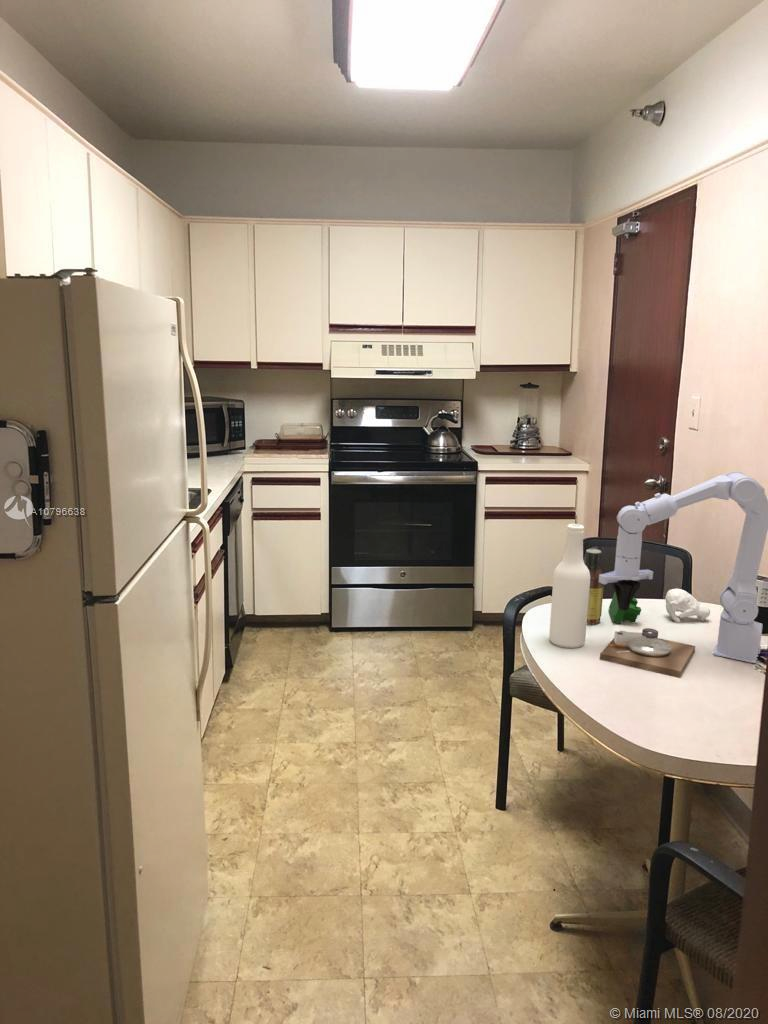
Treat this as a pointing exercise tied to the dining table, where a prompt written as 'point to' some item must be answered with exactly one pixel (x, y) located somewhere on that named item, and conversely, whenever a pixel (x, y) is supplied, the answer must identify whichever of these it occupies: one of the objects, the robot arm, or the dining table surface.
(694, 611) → the white lumpy piece
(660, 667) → the dial plate
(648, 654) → the dial
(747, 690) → the dining table surface
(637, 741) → the dining table surface
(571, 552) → the white bottle
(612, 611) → the clamp
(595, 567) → the sauce bottle
